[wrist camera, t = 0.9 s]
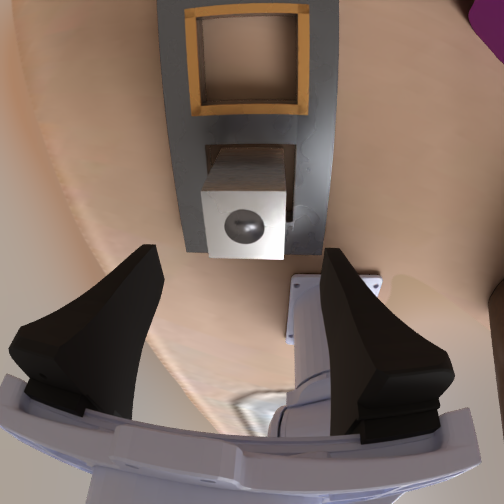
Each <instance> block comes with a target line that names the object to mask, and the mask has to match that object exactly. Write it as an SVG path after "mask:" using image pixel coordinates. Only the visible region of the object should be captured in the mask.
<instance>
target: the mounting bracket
mask: <svg viewBox="0 0 504 504" xmlns="http://www.w3.org/2000/svg"><path fill="white" fill-rule="evenodd" d="M468 17H469V21H470V24H471V26H472V28H473V30H474V31H475V33H476V34H477V35H478V36H479V37H480V39H481V40H482V41H483V42H484V43H485V44H486V45H487V46H488V47H489V49H490V50H491V51H492V52H493V53H494V54H495V56H496V57H497V58H498V59H499V60H500V61H501V62H502V63H503V64H504V0H475V2H474V4H473V6H472V7H471V9H470V11H469V15H468Z"/></svg>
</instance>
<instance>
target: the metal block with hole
mask: <svg viewBox="0 0 504 504" xmlns="http://www.w3.org/2000/svg"><path fill="white" fill-rule="evenodd" d="M201 199H202V207H203V215H204V223H205V231H206V239H207V246H208V254H209V258H235V259H279V260H284V239H285V216H286V179H285V166H284V153H283V148H266V147H244V148H221V150H220V152H219V154H218V156H217V158H216V160H215V162H214V164H213V166H212V168H211V170H210V173H209V175H208V177H207V179H206V181H205V183H204V185H203V187H202V189H201Z"/></svg>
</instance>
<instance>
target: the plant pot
mask: <svg viewBox="0 0 504 504" xmlns="http://www.w3.org/2000/svg"><path fill="white" fill-rule="evenodd" d="M488 308H489V319H490V329H491V338H492V347H493V356H494V364H495V372H496V381H497V389H498V398H499V405H500V412H501V420H502V428H503V436H504V280H503V281H502V282H501V283H500V284H499V285H498V286H497V288H496V289H495V291H494V292H493V294H492V296H491V298H490V301H489V305H488Z"/></svg>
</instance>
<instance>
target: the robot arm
mask: <svg viewBox="0 0 504 504" xmlns="http://www.w3.org/2000/svg"><path fill="white" fill-rule="evenodd" d="M164 280H165V279H164V275H163V272H162V268H161V264H160V260H159V256H158V252H157V249H156V245H151V244H143V245H142V246H140V247H139V248H138V249H137V250H135V251H134V252H133V253H132V254H131V255H130V256H129V257H127V258H126V259H125V260H124V261H123V262H122V263H121V264H120V265H118V266H117V267H116V268H115V269H114V270H113V271H112V272H111V273H109V274H108V275H107V276H106V277H105V278H103V279H102V280H101V281H100V282H98V283H97V284H96V285H95V286H93V287H92V288H91V289H90V290H88V291H87V292H85V293H84V294H83V295H81V296H80V297H78V298H77V299H75V300H74V301H72V302H70V303H69V304H67V305H65V306H64V307H62V308H60V309H59V310H57V311H55V312H53V313H51V314H49V315H47V316H45V317H43V318H41V319H39V320H36V321H34V322H32V323H29V324H27V325H24V326H21V327H20V329H19V330H18V332H17V334H16V336H15V337H14V339H13V341H12V343H11V345H10V347H9V354H10V356H11V357H12V359H13V360H14V361H15V362H16V364H17V365H18V366H19V367H20V368H21V369H22V370H23V371H24V372H25V374H26V375H27V376H28V377H29V378H30V379H29V381H28V383H26V382H25V381H23V380H21V379H19V378H17V377H14V376H12V375H9V374H6V375H5V377H4V379H3V382H2V384H1V386H0V427H1V428H2V429H3V430H5V431H6V432H8V433H9V434H11V435H12V436H13V437H15V438H17V439H18V440H19V441H21V442H23V443H25V444H27V445H29V446H31V447H33V448H35V449H37V450H39V451H41V452H43V453H45V454H47V455H49V456H51V457H53V458H55V459H57V460H60V461H62V462H64V463H66V464H68V465H71V466H73V467H75V468H78V469H80V470H83V471H85V472H88V473H90V474H92V478H91V483H90V487H89V491H88V495H87V500H86V504H393V503H394V502H395V501H396V500H397V499H398V498H400V497H401V496H402V495H403V494H404V493H405V492H409V491H412V490H416V489H420V488H424V487H427V486H431V485H434V484H437V483H440V482H444V481H447V480H449V479H452V478H454V477H456V476H458V475H460V474H462V473H464V472H466V471H468V470H470V469H472V468H474V467H476V466H478V465H479V464H481V456H480V452H479V446H478V442H477V437H476V432H475V428H474V424H473V420H472V416H471V412H470V409H469V408H463V409H459V410H455V411H451V412H447V413H444V414H442V415H440V416H438V411H437V409H439V408H440V402H439V397H440V396H441V395H442V394H443V393H444V392H445V391H446V390H447V388H448V387H449V386H450V385H451V383H452V382H453V380H454V377H455V374H454V371H453V367H452V364H451V361H450V358H449V356H448V354H447V352H446V351H444V350H443V349H441V348H439V347H438V346H436V345H434V344H433V343H431V342H429V341H428V340H426V339H425V338H423V337H422V336H420V335H419V334H418V333H416V332H415V331H414V330H412V329H411V328H410V327H408V326H407V325H406V324H405V323H404V322H402V321H401V320H400V319H399V318H398V317H396V316H395V315H394V314H393V313H392V312H391V311H390V310H389V309H388V308H387V307H386V306H385V305H384V304H383V303H382V302H381V301H380V300H379V299H378V298H377V297H378V294H379V291H380V288H381V285H382V282H383V279H382V277H381V276H380V275H358V273H357V272H356V271H355V269H354V268H353V266H352V265H351V264H350V262H349V261H348V259H347V258H346V257H345V255H344V254H343V252H342V251H341V250H340V248H325V252H324V259H323V265H322V272H321V274H295V275H293V276H292V278H291V286H290V298H289V310H288V320H287V331H286V343H287V344H292V345H294V355H295V390H293V391H290V392H287V401H286V405H285V406H281V407H280V408H278V409H277V410H276V412H275V414H274V415H273V418H272V420H271V422H270V425H269V429H268V437H256V436H239V435H226V434H215V433H206V432H197V431H190V430H183V429H176V428H170V427H164V426H158V425H153V424H148V423H143V422H138V421H133V420H132V408H133V398H134V391H135V383H136V377H137V372H138V366H139V361H140V357H141V352H142V348H143V345H144V342H145V338H146V336H147V333H148V330H149V328H150V325H151V322H152V320H153V317H154V314H155V312H156V309H157V306H158V304H159V301H160V298H161V294H162V289H163V285H164ZM295 284H298V285H295ZM375 284H377V285H375Z"/></svg>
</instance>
